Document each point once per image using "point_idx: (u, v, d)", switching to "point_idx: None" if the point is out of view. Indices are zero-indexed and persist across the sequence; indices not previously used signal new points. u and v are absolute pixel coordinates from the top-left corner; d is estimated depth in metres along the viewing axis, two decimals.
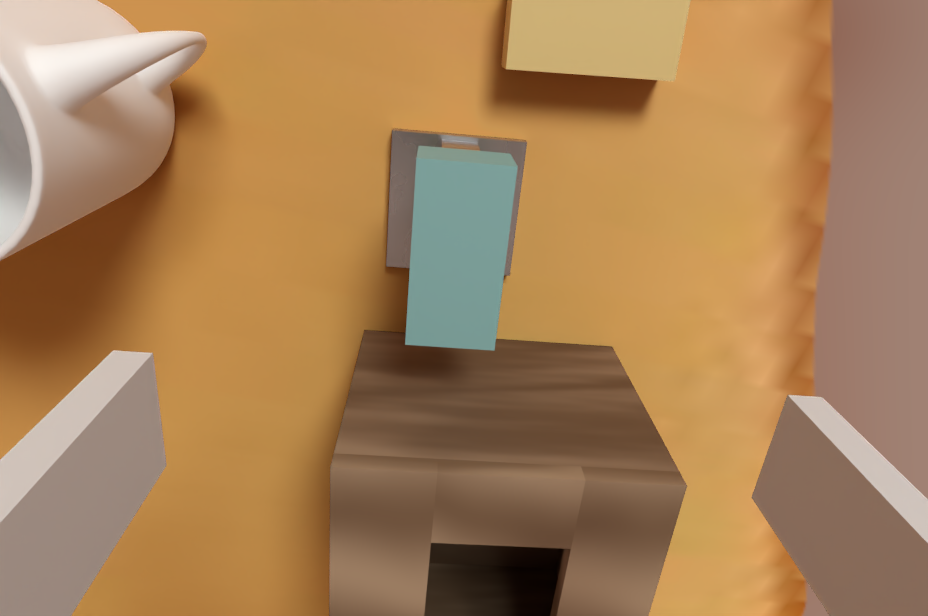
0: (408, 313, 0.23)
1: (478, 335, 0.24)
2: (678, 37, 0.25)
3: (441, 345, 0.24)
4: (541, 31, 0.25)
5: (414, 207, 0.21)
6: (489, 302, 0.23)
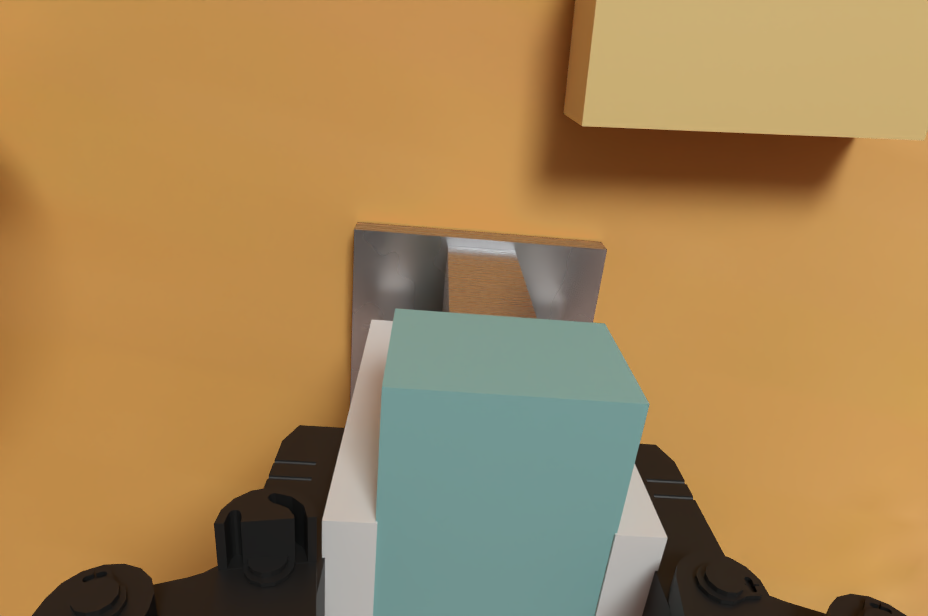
0: None
1: None
2: None
3: None
4: (658, 47, 0.12)
5: (379, 494, 0.08)
6: None
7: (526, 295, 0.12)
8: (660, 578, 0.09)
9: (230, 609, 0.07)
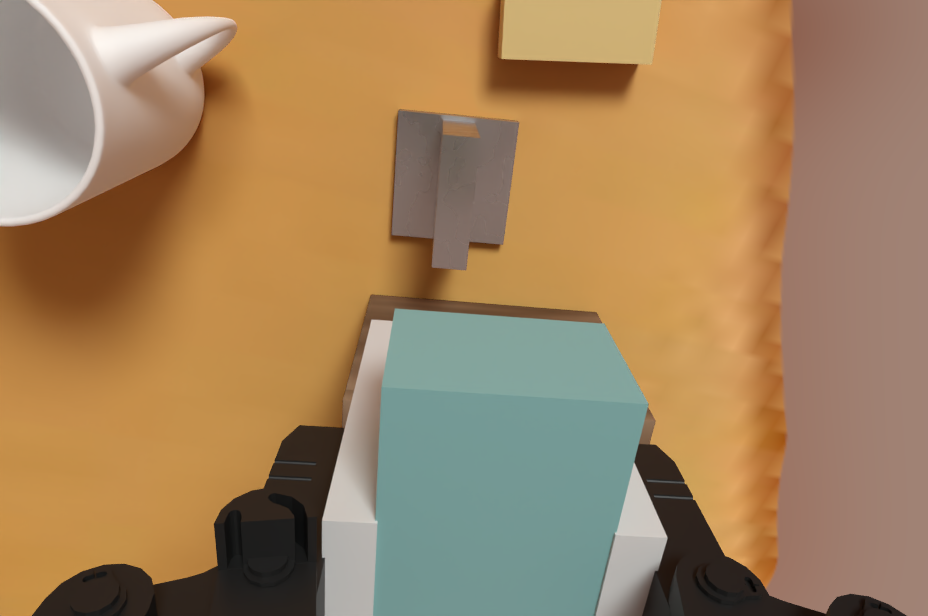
0: None
1: None
2: (653, 25, 0.28)
3: None
4: (532, 24, 0.28)
5: (379, 494, 0.08)
6: None
7: (476, 130, 0.29)
8: (660, 578, 0.09)
9: (230, 609, 0.07)
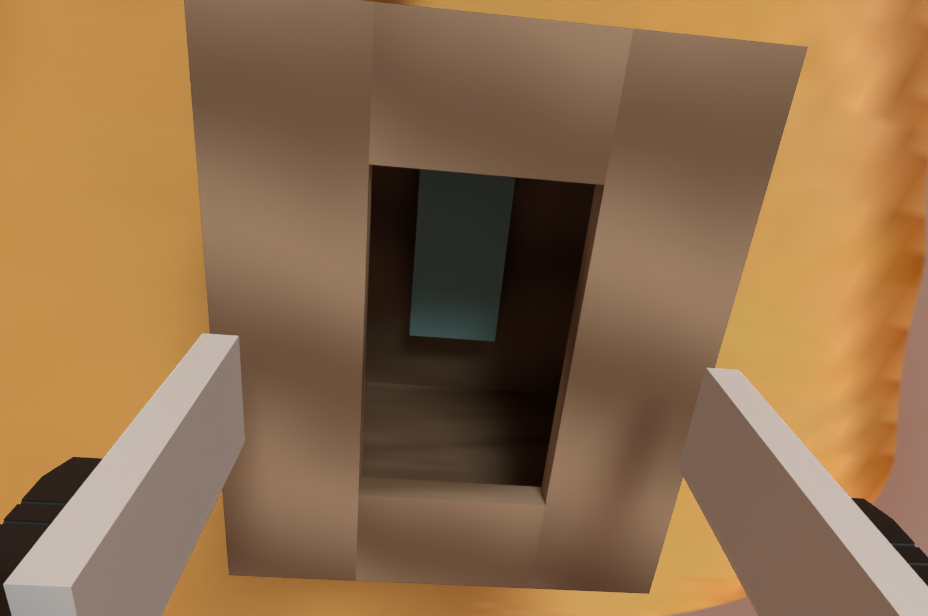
0: (412, 305, 0.24)
1: (479, 326, 0.25)
2: None
3: (444, 336, 0.25)
4: None
5: (418, 203, 0.23)
6: (489, 294, 0.24)
7: None
8: None
9: None
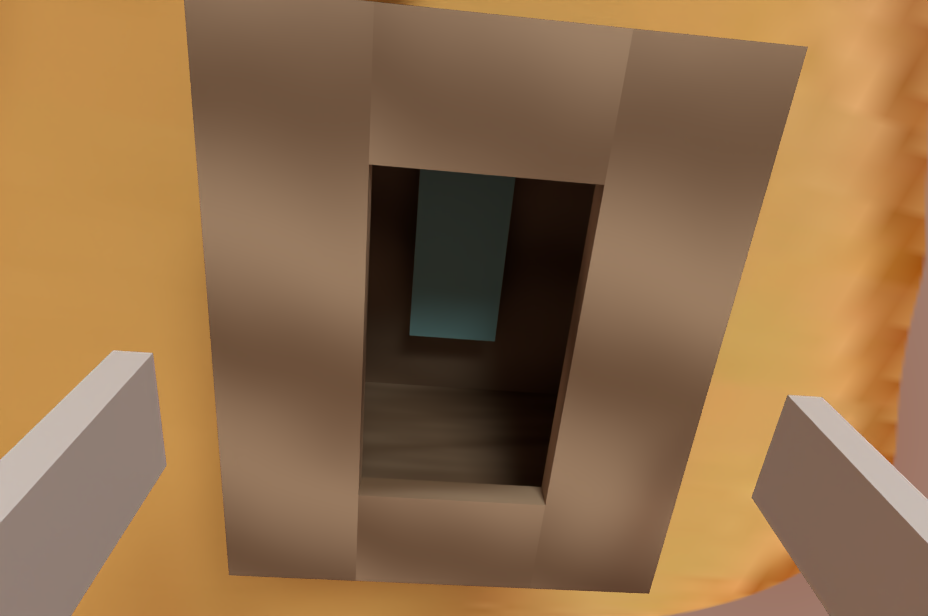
0: (412, 305, 0.24)
1: (479, 326, 0.25)
2: None
3: (444, 336, 0.25)
4: None
5: (418, 203, 0.23)
6: (489, 294, 0.24)
7: None
8: None
9: None
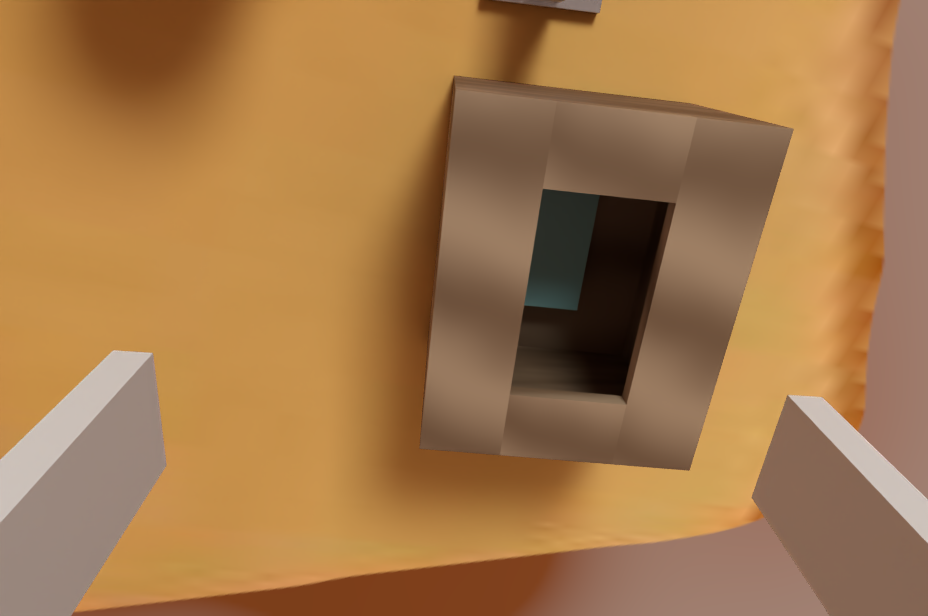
0: None
1: (567, 299, 0.35)
2: None
3: (541, 305, 0.35)
4: None
5: None
6: (576, 276, 0.35)
7: None
8: None
9: None
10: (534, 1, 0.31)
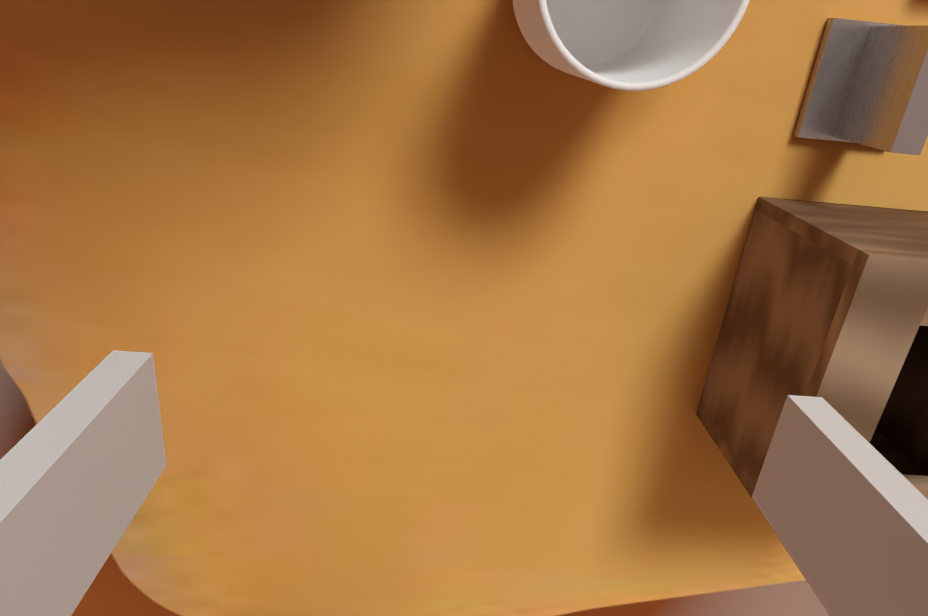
0: None
1: None
2: None
3: None
4: None
5: None
6: None
7: None
8: None
9: None
10: (842, 138, 0.37)
